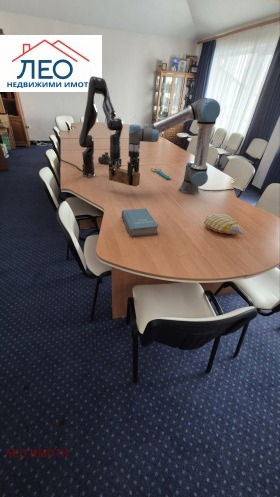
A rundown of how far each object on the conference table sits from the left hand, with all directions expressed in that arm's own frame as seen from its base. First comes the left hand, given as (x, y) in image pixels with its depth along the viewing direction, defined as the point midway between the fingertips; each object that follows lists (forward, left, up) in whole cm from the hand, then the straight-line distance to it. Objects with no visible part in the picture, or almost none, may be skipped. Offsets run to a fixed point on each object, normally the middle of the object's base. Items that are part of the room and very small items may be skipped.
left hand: (115, 174), depth 167 cm
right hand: (+15, 0, -4) cm, 16 cm away
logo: (+12, +64, -13) cm, 66 cm away
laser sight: (-46, +58, -13) cm, 75 cm away
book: (+40, -36, -13) cm, 56 cm away
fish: (+86, -12, -13) cm, 88 cm away
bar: (+8, 0, -4) cm, 9 cm away
